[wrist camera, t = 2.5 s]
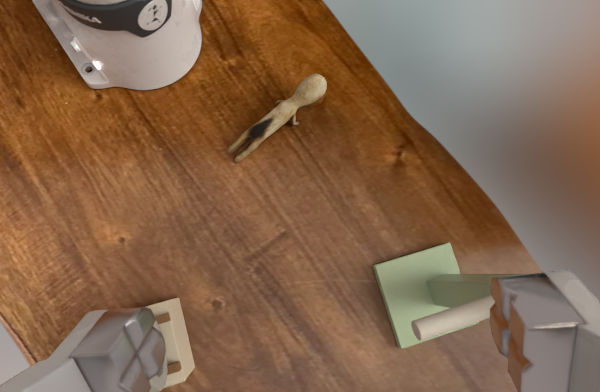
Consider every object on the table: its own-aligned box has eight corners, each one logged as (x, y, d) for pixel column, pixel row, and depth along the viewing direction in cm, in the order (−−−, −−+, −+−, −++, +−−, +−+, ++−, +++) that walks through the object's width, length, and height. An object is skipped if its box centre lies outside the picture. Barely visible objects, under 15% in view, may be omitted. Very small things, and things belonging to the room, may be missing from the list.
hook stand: (378, 353, 46) (461, 412, 27) (353, 271, 48) (413, 269, 28) (473, 322, 48) (616, 355, 29) (445, 243, 50) (562, 223, 30)
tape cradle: (141, 384, 43) (118, 404, 37) (126, 312, 45) (101, 319, 38) (195, 367, 44) (182, 384, 37) (179, 297, 46) (164, 301, 39)
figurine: (245, 169, 51) (333, 95, 51) (236, 165, 47) (333, 83, 46) (227, 148, 52) (315, 74, 51) (217, 141, 47) (312, 60, 47)
